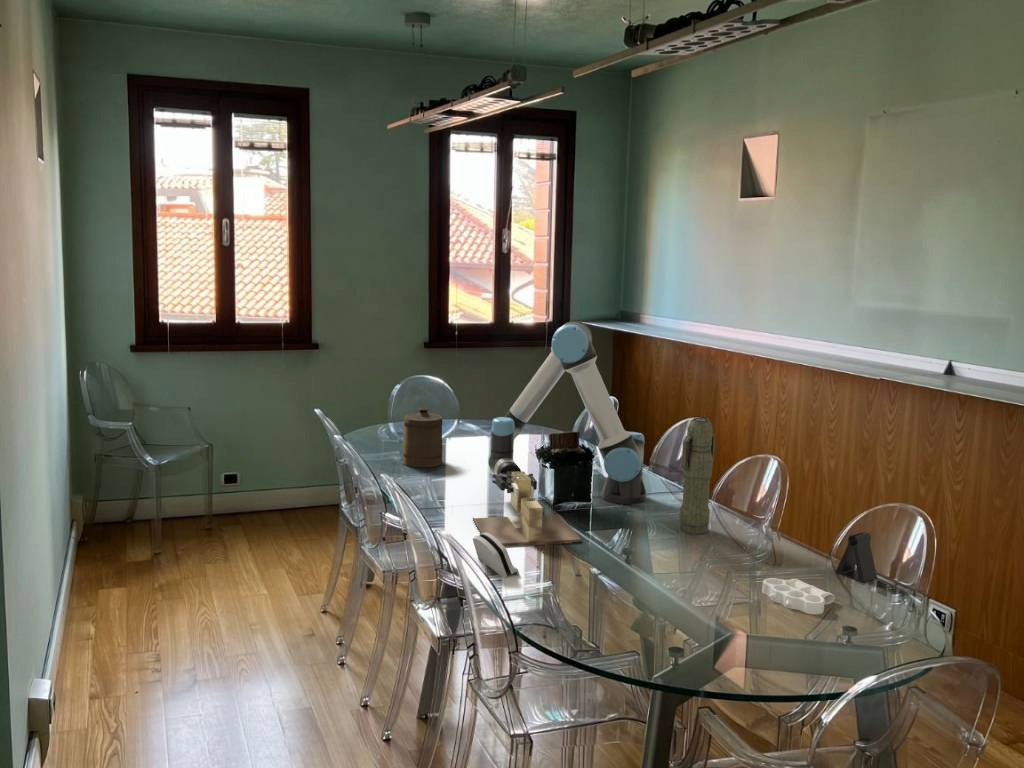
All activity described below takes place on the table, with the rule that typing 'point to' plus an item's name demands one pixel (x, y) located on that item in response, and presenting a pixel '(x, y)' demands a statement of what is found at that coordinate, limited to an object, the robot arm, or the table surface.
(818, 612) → the white egg tray
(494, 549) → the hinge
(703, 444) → the stone statue
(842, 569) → the phone stand
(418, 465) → the wooden container
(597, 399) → the robot arm
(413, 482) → the table surface
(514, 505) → the tan wooden brick
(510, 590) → the table surface
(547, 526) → the mounting board
